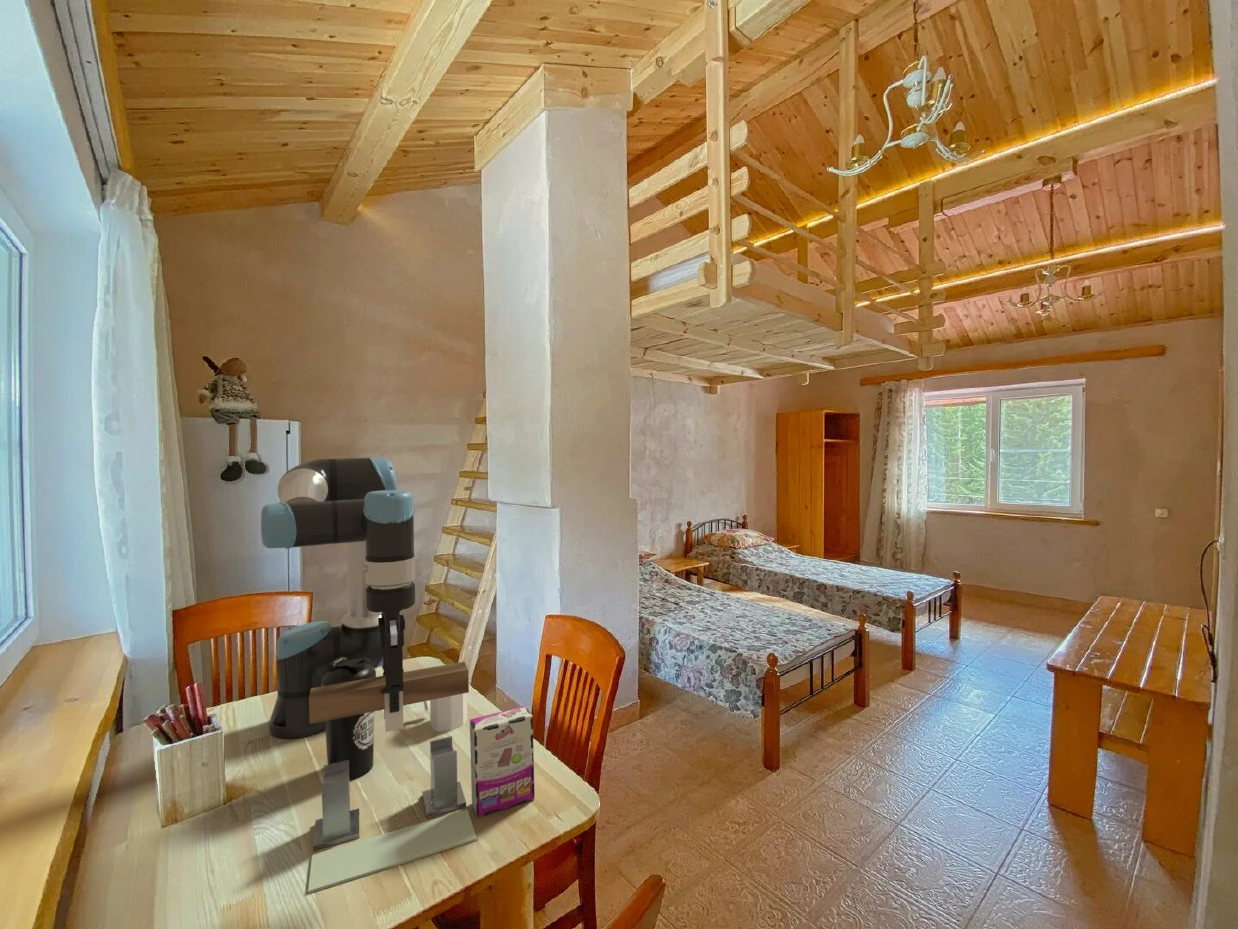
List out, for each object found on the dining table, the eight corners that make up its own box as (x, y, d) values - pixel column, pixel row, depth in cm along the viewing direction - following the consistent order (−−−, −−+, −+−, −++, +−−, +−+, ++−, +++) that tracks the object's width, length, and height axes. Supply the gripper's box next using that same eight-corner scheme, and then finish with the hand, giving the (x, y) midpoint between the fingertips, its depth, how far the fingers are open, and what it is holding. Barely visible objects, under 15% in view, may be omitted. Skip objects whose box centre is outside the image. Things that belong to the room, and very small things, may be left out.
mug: (473, 717, 134) (473, 678, 133) (451, 734, 126) (450, 693, 125) (435, 708, 138) (434, 670, 138) (410, 724, 130) (410, 684, 130)
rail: (311, 713, 87) (310, 688, 86) (464, 683, 97) (464, 661, 97) (309, 724, 83) (308, 698, 83) (468, 692, 93) (468, 669, 93)
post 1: (315, 824, 96) (314, 766, 96) (359, 812, 99) (358, 756, 99) (312, 851, 90) (311, 789, 89) (359, 837, 93) (358, 777, 92)
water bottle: (356, 787, 106) (353, 672, 106) (311, 781, 108) (308, 668, 108) (388, 758, 116) (386, 653, 115) (346, 752, 118) (344, 649, 118)
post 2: (422, 795, 104) (421, 741, 104) (459, 785, 107) (459, 733, 107) (426, 818, 98) (425, 760, 97) (466, 806, 101) (465, 751, 100)
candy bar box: (527, 785, 107) (526, 704, 106) (535, 800, 103) (534, 715, 102) (469, 803, 102) (468, 717, 101) (475, 819, 97) (474, 730, 97)
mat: (312, 857, 88) (312, 855, 88) (467, 811, 99) (467, 809, 99) (308, 893, 81) (308, 891, 81) (476, 840, 92) (476, 838, 92)
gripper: (365, 575, 95) (367, 705, 96) (366, 599, 80) (369, 754, 81) (410, 571, 99) (412, 697, 99) (420, 593, 83) (422, 742, 84)
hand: (393, 722), depth 90 cm, fingers closed on rail, 4 cm apart
